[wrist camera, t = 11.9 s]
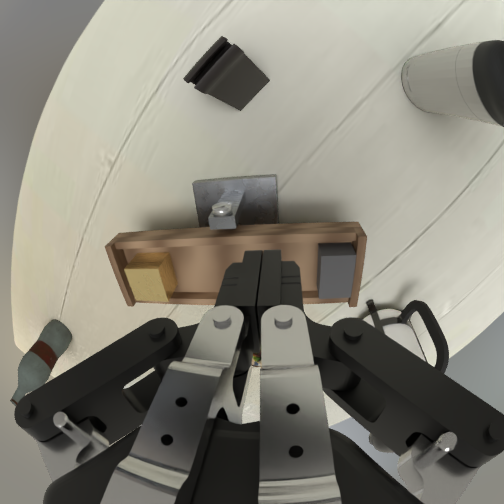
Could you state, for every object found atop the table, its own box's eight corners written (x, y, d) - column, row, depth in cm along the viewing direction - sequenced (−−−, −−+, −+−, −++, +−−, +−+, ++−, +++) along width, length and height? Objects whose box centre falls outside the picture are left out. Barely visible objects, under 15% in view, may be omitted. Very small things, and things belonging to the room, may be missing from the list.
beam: (358, 221, 31) (367, 236, 28) (350, 288, 36) (356, 306, 33) (118, 233, 35) (104, 246, 32) (138, 290, 40) (127, 306, 37)
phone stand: (270, 80, 31) (266, 67, 21) (240, 110, 34) (224, 111, 24) (221, 43, 29) (197, 19, 19) (192, 74, 31) (158, 62, 21)
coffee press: (417, 330, 51) (458, 447, 25) (352, 354, 56) (371, 478, 30) (409, 272, 44) (479, 413, 18) (331, 303, 49) (355, 460, 23)
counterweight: (350, 242, 31) (356, 255, 29) (346, 283, 34) (350, 297, 32) (318, 243, 32) (321, 256, 29) (316, 284, 35) (318, 299, 32)
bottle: (46, 321, 64) (-2, 391, 38) (56, 314, 61) (2, 391, 35) (66, 343, 67) (24, 414, 41) (78, 337, 64) (31, 416, 38)
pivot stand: (275, 174, 38) (274, 199, 28) (281, 278, 47) (280, 324, 37) (195, 180, 40) (168, 206, 30) (213, 280, 48) (197, 323, 39)
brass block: (169, 252, 34) (158, 268, 31) (178, 283, 37) (168, 301, 33) (137, 253, 35) (124, 269, 32) (147, 283, 37) (135, 300, 34)
